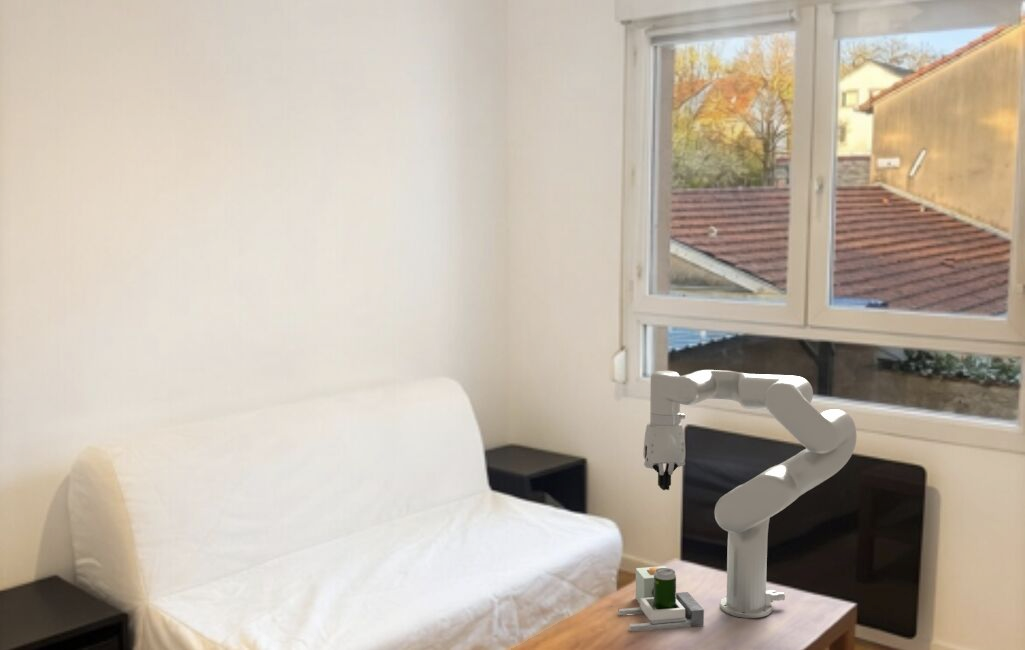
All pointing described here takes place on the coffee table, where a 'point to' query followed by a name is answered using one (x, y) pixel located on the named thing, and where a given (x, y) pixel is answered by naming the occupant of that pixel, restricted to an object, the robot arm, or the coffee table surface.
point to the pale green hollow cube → (644, 583)
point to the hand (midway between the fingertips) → (664, 488)
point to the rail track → (692, 614)
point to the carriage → (662, 612)
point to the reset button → (652, 570)
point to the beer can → (664, 589)
